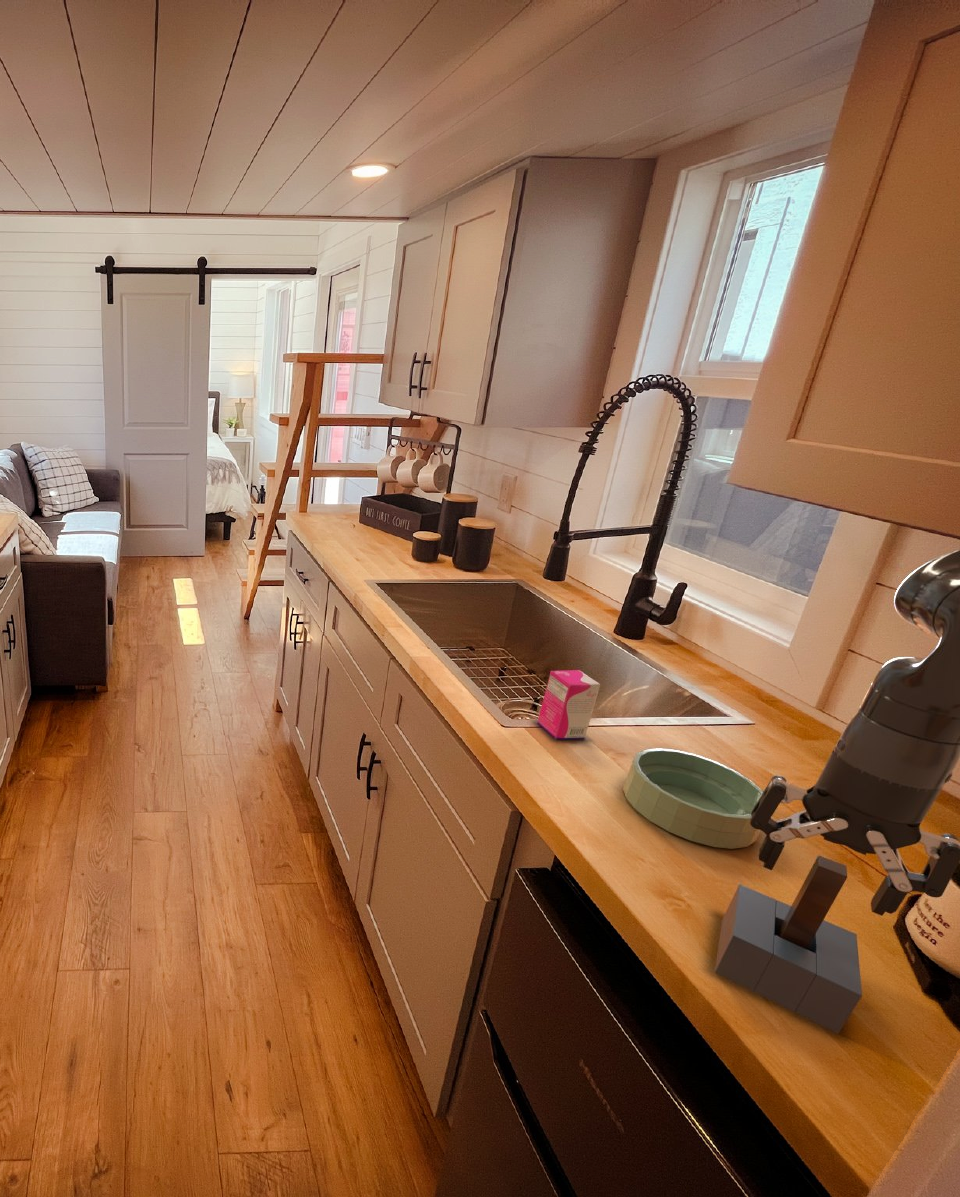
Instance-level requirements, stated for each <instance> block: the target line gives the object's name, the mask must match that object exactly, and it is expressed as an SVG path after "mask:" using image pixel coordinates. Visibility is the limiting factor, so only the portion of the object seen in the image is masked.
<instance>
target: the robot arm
mask: <svg viewBox="0 0 960 1197" xmlns="http://www.w3.org/2000/svg"><path fill="white" fill-rule="evenodd" d="M893 600H894V601H893V603H894V608H895V611H896V613H897V614H898V615H899V617H900V618H901V619H902V620H903V621H905V622H906V623H908V624H909V625H911V626H913V627H915V628H916V629H918V630H920V631H922V632H924V633H926V634H928V635H929V636H932V637H933V638H935V639H937V640H939V642H938V644H937V645H936V647H935V649H934V650H932V652H931V653H930V654H929V655H928V656H926V658H925V657H924V658H923V657H917V656H904V657H903V656H902V657H901V656H900V657H895V658H892V659H890V660H889V661H887V662H885V663H884V664H883V665H882V666H881V668H879V671H878V672H877V674H876V675H875V677H874V678H873V681H872V682H871V684H870V686H869V688H868V690H867V691H866V694H865V696H864V698H863V700H862V701H861V703H860V706H859V707H858V709H857V711H856V712H855V713H854V714H853V716H852V717H851V718H850V720H848V722H847V723H846V725H845V727H844V729H843V731H842V732H841V734H840V737H839V738H838V740H837V742H836V744H835V746H834V748H833V749H832V752H831V753H830V755H829V757H828V759H827V761H826V763H825V765H824V767H823V769H822V771H821V773H820V775H819V777H818V779H817V781H816V783H814V785H812V787H809V788H808V789H805V788H802V787H799V786H797V785H795V784H791V783H789V782H788V781H787V779H786V777H784V776H782V775H773V776H772V777H771V778H770V780H769V782H768V784H767V786H766V787H765V789H764V790H763V791H764V792H763V794H762V795H761V797H760V799H759V800H758V802H757V804H756V805H755V807H754V809H753V810H752V813H751V816H752V818H751V821H750V824H751V826H752V827H753V828H755V829H758V830H761V831H760V832H762V833H764V834H765V837H764V839H763V841H762V843H761V846H760V847H759V849H758V850H759V851H758V861H760V862H763V864H762V866H763V868H764V869H766V870H770V871H773V870H774V867H775V865H776V864H777V861H778V860H779V858H780V856H781V854H782V852H783V850H784V848H785V846H786V842H788V841H791V840H795V839H808V838H812V837H815V836H818V835H819V836H821V837H822V838H823V840H824V841H827V842H830V843H832V844H836V845H841V846H844V847H847V848H848V849H850V850H853V851H854V852H856V853H859V854H860V855H864V856H866V855H867V854H868V855H876V857H877V858H878V860H879V862H880V864H881V866H882V867H883V869H884V871H885V872H886V873H887V874H886V875H885V876H884V879H883V880H882V881H881V883H880V885H879V886H878V889H876V892H875V893H874V895H873V897H872V898H871V900H870V910H871V912H872V913H874V914H876V915H879V916H882V917H883V915H884V914H885V913H887V914H890V915H892V914H894V913H896V912H897V911H898V909H899V907H900V906H901V904H902V903H903V901H904V900H905V898H906V896H907V895H908V894H909V893H912V892H918V893H924V894H925V895H926V896H929V897H931V898H936V899H937V898H941V897H942V896H943V895H944V893H945V891H946V889H947V888H948V885H949V884H950V881H951V880H952V877H953V876H954V874H955V871H956V870H957V868H958V866H959V864H960V840H959V838H958V836H956V835H955V834H952V833H943V834H941V835H939V834H935V833H933V832H930V831H926V830H923V829H921V828H920V827H921V824H922V822H923V821H924V820H925V818H926V816H927V815H928V813H929V811H930V810H931V808H932V806H933V805H934V803H935V801H936V800H937V798H938V797H939V795H940V793H941V792H942V790H943V788H944V787H945V785H946V784H947V783H949V781H950V780H951V779H952V777H953V772H954V770H955V768H956V767H957V765H958V763H959V761H960V548H958V549H955V550H953V551H950V552H948V553H945V554H943V555H941V556H939V557H936V558H934V559H932V560H930V561H928V562H926V563H924V564H923V565H921V566H920V567H918V568H917V569H915V570H913V572H911V573H910V574H909V575H908V576H907V577H906V578H905V579H903V581H902V582H901V584H900V585H899V586H898V588H897V590H896V592H895V595H894V599H893ZM796 800H798V801H801V803H802V805H803V807H804V810H801V811H797V812H794V813H792V814H791V815H790V816H787V817H784V818H781V819H777V820H775V819H773V818H772V817H773V815H774V814H775V812H776V810H777V809H778V807H779V806H780V804H784V805H785V804H787V805H788V804H791V802H793V801H796ZM918 843H920V844H922V845H923V847H924V851H925V854H926V855H927V856H928V857H929V858H928V860H927V862H926V864H925V865H924V867H923V870H922V872H921V873H920V872H919V873H918V872H912V871H909V869H908V868H907V866H906V864H905V862H904V860H903V859H902V856H901V854H900V852H899V849H902V848H904V847H910V846H913V845H916V844H918Z"/></svg>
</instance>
